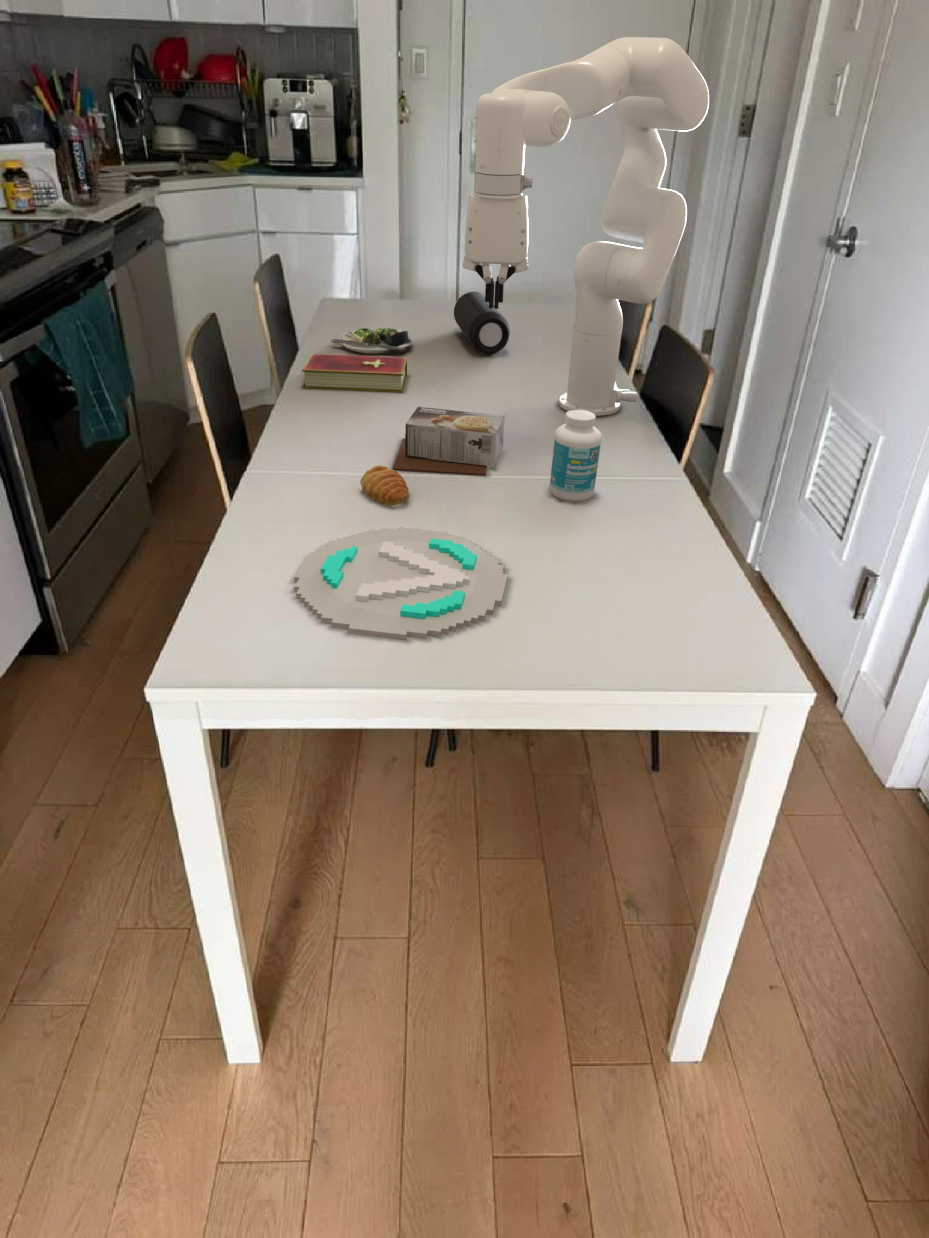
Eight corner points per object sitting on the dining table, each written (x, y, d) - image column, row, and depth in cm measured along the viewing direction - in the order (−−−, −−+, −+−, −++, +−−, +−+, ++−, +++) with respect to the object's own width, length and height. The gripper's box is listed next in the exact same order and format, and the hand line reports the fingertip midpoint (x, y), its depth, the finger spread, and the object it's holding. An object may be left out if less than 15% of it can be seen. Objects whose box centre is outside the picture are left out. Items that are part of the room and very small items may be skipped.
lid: (489, 650, 107) (490, 639, 106) (267, 623, 110) (266, 612, 109) (516, 544, 130) (516, 534, 129) (332, 524, 133) (331, 515, 132)
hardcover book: (312, 371, 196) (311, 352, 194) (407, 375, 196) (407, 356, 194) (303, 388, 186) (301, 368, 183) (402, 392, 186) (402, 372, 184)
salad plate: (332, 358, 205) (331, 337, 202) (329, 336, 219) (329, 317, 217) (415, 357, 208) (415, 337, 205) (407, 336, 222) (407, 317, 220)
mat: (489, 445, 162) (489, 443, 162) (485, 476, 151) (485, 473, 150) (402, 440, 163) (402, 438, 163) (392, 470, 151) (392, 468, 151)
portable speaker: (511, 357, 210) (513, 314, 205) (470, 358, 208) (471, 314, 203) (488, 329, 231) (490, 289, 226) (451, 329, 229) (452, 289, 224)
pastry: (420, 503, 140) (420, 481, 138) (382, 512, 137) (381, 490, 135) (392, 482, 147) (392, 460, 145) (356, 490, 144) (355, 468, 142)
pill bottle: (564, 506, 142) (573, 425, 134) (540, 488, 147) (547, 410, 140) (603, 498, 145) (613, 419, 137) (577, 481, 150) (586, 404, 143)
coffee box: (503, 449, 160) (418, 438, 163) (505, 415, 157) (418, 405, 159) (493, 468, 153) (404, 457, 155) (495, 433, 149) (404, 422, 152)
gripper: (546, 184, 140) (538, 303, 150) (452, 180, 141) (450, 299, 151) (547, 190, 134) (538, 314, 144) (449, 187, 134) (447, 311, 145)
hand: (493, 306), depth 147 cm, fingers closed
